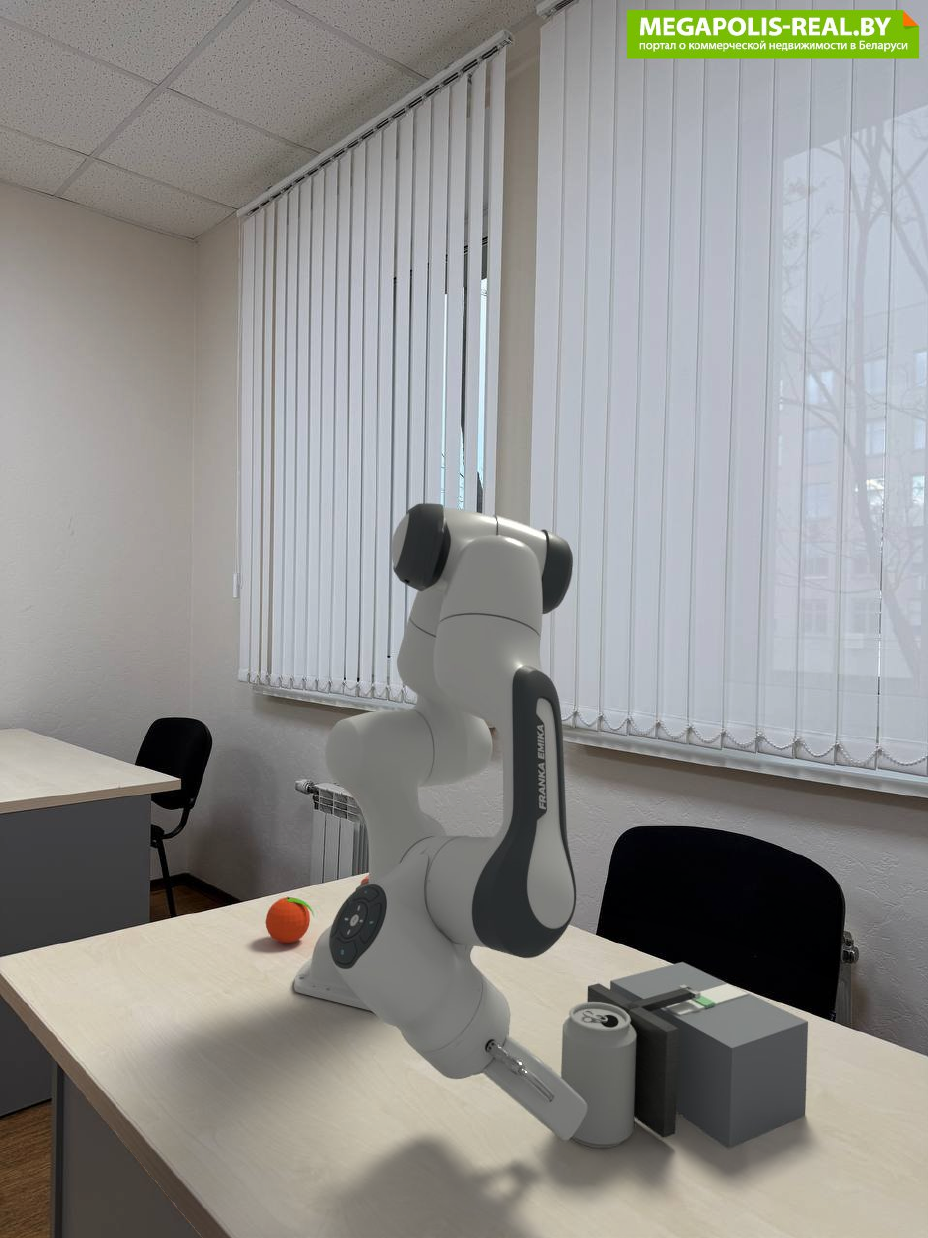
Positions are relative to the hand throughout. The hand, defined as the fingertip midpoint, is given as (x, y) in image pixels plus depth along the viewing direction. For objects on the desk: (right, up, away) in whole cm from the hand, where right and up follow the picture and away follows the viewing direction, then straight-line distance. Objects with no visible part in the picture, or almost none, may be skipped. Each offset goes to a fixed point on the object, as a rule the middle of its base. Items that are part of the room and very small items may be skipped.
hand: (542, 1100), depth 83 cm
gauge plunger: (+13, -4, +8) cm, 16 cm away
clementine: (-35, -4, +51) cm, 63 cm away
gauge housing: (+19, -6, +12) cm, 23 cm away
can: (+6, -5, +4) cm, 9 cm away
